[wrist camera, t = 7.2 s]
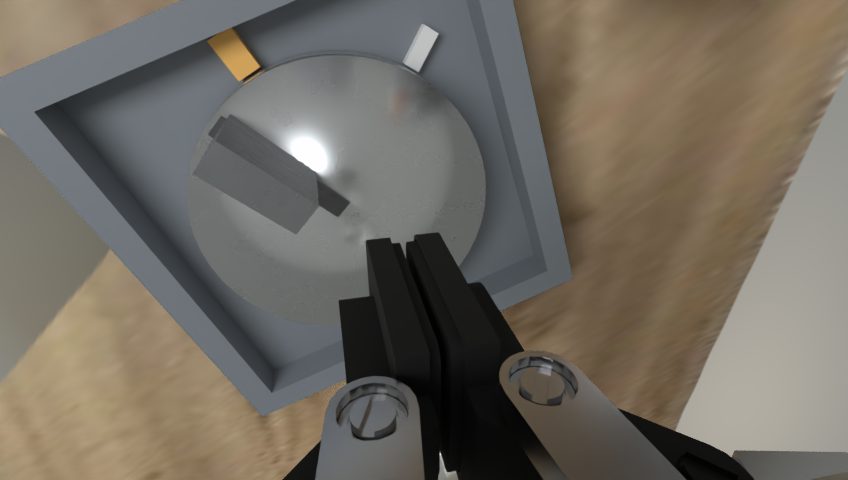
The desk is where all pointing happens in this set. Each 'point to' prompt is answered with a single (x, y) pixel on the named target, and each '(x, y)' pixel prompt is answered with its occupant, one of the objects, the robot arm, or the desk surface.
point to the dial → (329, 179)
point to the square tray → (196, 104)
